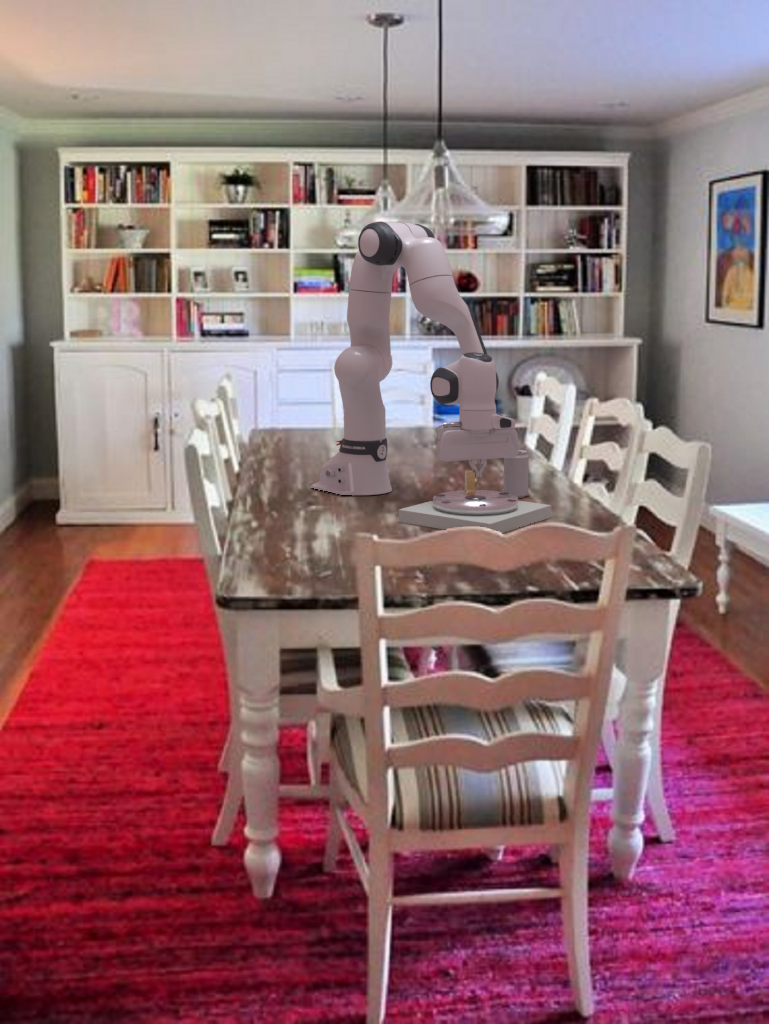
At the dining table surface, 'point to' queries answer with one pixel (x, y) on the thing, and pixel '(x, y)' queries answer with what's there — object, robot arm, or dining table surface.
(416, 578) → the dining table surface
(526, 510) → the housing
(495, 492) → the turntable disc
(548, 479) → the dining table surface
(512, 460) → the beverage can
